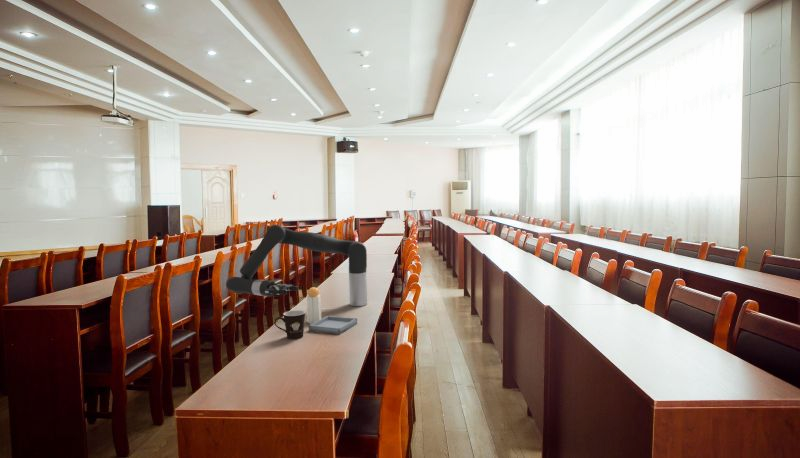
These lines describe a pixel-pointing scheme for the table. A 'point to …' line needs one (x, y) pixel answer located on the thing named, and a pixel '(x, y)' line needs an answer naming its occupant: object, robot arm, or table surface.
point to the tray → (333, 324)
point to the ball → (313, 292)
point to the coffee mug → (293, 324)
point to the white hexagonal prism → (313, 309)
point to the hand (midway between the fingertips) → (292, 290)
